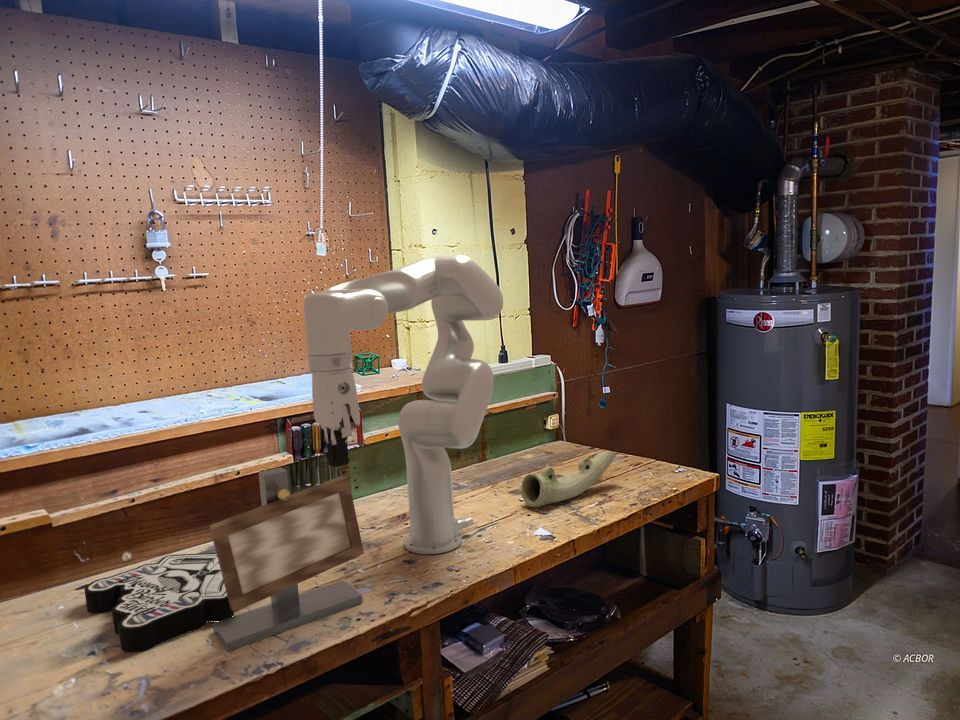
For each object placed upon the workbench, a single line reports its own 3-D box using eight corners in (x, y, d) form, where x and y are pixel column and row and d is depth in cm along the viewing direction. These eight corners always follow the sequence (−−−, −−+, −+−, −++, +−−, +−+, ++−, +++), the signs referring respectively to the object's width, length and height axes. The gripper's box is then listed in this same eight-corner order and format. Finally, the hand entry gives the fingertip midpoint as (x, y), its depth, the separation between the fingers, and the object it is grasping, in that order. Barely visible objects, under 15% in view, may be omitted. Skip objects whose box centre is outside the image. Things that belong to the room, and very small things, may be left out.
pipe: (541, 514, 163) (539, 474, 161) (518, 506, 169) (516, 467, 168) (618, 486, 180) (617, 449, 179) (594, 479, 186) (593, 443, 185)
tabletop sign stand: (343, 587, 130) (332, 455, 127) (362, 602, 124) (351, 464, 120) (213, 631, 117) (197, 484, 113) (227, 651, 110) (210, 496, 107)
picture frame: (359, 550, 127) (343, 475, 124) (364, 553, 126) (348, 477, 122) (230, 608, 114) (209, 525, 111) (234, 612, 112) (212, 529, 109)
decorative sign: (78, 583, 129) (232, 534, 149) (81, 606, 129) (234, 554, 150) (127, 636, 109) (297, 570, 129) (131, 662, 109) (299, 593, 130)
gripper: (369, 364, 116) (377, 469, 118) (332, 357, 128) (340, 452, 130) (327, 370, 112) (336, 478, 114) (294, 362, 124) (302, 460, 126)
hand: (338, 464), depth 122 cm, fingers closed
